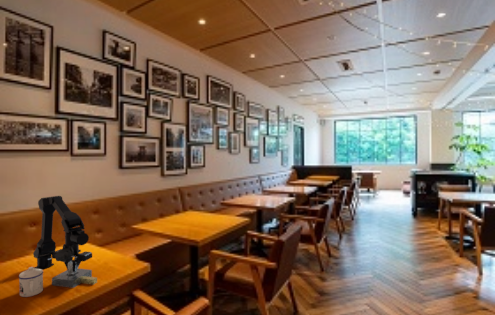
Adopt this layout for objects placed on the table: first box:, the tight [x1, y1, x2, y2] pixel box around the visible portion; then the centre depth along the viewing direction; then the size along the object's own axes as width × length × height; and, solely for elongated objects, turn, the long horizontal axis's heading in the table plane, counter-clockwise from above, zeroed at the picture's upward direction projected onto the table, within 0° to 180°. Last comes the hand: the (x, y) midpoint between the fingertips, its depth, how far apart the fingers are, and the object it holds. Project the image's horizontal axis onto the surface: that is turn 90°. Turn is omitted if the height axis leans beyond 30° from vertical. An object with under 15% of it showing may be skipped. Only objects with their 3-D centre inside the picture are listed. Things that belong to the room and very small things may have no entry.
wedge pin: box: [68, 262, 77, 276], centre depth 144 cm, size 3×3×8 cm
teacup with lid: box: [18, 266, 44, 298], centre depth 131 cm, size 12×9×12 cm
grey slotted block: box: [51, 268, 98, 289], centre depth 143 cm, size 19×12×4 cm, turn 79°
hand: (72, 271), depth 144 cm, fingers open, 3 cm apart
